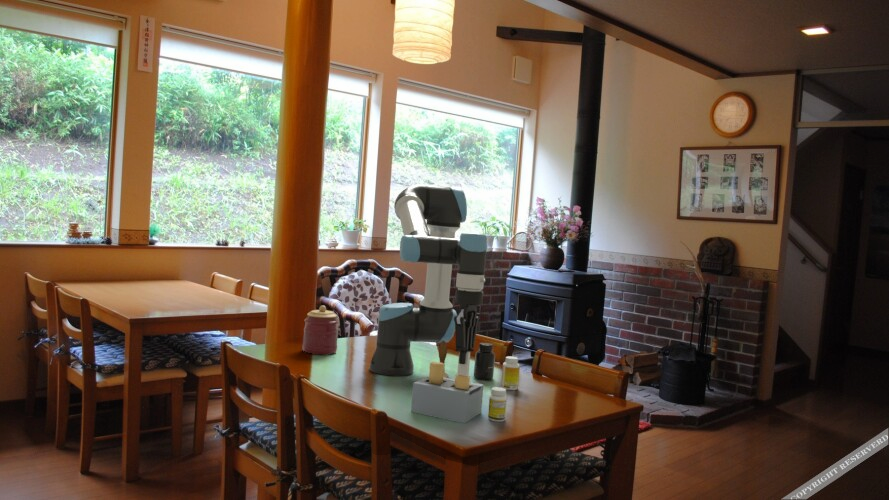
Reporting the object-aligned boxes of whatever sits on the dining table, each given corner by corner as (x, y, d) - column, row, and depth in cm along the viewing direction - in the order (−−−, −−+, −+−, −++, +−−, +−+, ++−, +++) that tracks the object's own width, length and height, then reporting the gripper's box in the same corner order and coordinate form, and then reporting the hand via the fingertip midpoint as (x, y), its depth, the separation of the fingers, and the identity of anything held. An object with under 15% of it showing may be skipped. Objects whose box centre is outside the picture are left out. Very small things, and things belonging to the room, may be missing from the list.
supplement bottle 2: (490, 415, 182) (492, 385, 181) (506, 418, 180) (509, 388, 180) (486, 420, 177) (488, 389, 177) (503, 423, 176) (505, 392, 175)
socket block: (411, 411, 180) (413, 382, 179) (430, 402, 190) (432, 375, 190) (464, 423, 173) (466, 393, 172) (481, 412, 184) (483, 384, 183)
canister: (309, 346, 256) (312, 302, 255) (341, 350, 254) (344, 305, 253) (297, 353, 243) (300, 305, 242) (330, 356, 241) (334, 309, 240)
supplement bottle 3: (521, 390, 213) (523, 359, 212) (506, 391, 210) (509, 359, 210) (512, 385, 218) (514, 355, 217) (497, 386, 215) (500, 355, 215)
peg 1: (425, 390, 182) (427, 363, 182) (431, 387, 186) (433, 361, 185) (438, 392, 180) (440, 365, 180) (444, 389, 184) (446, 363, 184)
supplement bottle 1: (491, 381, 221) (494, 346, 221) (471, 379, 223) (474, 344, 222) (494, 377, 228) (497, 343, 227) (475, 375, 229) (477, 341, 229)
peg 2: (451, 403, 179) (453, 375, 178) (457, 399, 182) (459, 373, 182) (464, 405, 177) (466, 378, 177) (470, 402, 181) (472, 375, 180)
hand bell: (434, 395, 198) (438, 343, 197) (422, 388, 205) (426, 338, 205) (458, 394, 202) (462, 343, 201) (446, 387, 209) (449, 338, 208)
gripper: (473, 292, 171) (466, 381, 172) (491, 289, 183) (484, 373, 184) (447, 289, 174) (440, 377, 175) (466, 286, 186) (460, 368, 187)
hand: (462, 375), depth 179 cm, fingers closed
